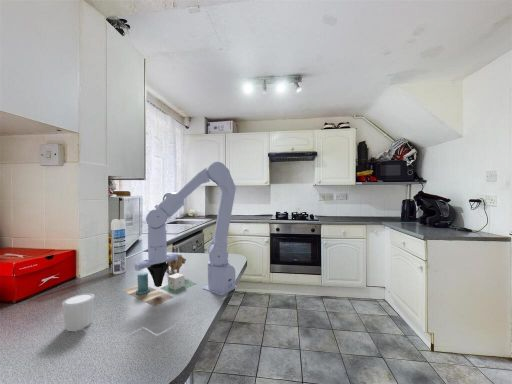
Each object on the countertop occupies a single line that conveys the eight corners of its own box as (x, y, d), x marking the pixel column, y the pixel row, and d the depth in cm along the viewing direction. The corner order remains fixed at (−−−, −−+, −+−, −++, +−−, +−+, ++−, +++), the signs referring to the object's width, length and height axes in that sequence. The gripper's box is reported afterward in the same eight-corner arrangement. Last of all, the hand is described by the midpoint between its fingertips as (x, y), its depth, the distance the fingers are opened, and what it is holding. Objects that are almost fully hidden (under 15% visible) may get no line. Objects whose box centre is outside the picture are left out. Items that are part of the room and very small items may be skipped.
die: (184, 286, 86) (184, 274, 86) (175, 290, 82) (174, 278, 82) (177, 283, 88) (177, 272, 88) (167, 287, 85) (167, 276, 85)
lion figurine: (188, 276, 96) (187, 254, 96) (175, 280, 93) (175, 257, 92) (171, 268, 107) (170, 248, 107) (159, 271, 103) (159, 250, 103)
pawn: (152, 291, 82) (152, 273, 82) (140, 295, 78) (139, 277, 78) (145, 288, 85) (145, 271, 85) (133, 292, 81) (133, 275, 81)
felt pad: (197, 284, 88) (197, 283, 88) (173, 294, 80) (173, 293, 80) (183, 279, 93) (183, 279, 93) (159, 288, 84) (159, 288, 84)
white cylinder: (90, 315, 67) (89, 290, 67) (99, 323, 63) (98, 297, 63) (59, 326, 62) (58, 299, 62) (66, 336, 58) (65, 307, 57)
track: (174, 298, 77) (174, 297, 77) (154, 306, 71) (154, 305, 71) (141, 284, 89) (141, 283, 89) (121, 291, 83) (121, 290, 83)
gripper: (169, 240, 88) (169, 276, 88) (129, 248, 76) (130, 290, 76) (181, 242, 84) (182, 280, 84) (141, 251, 72) (141, 296, 72)
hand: (158, 286), depth 80 cm, fingers closed
